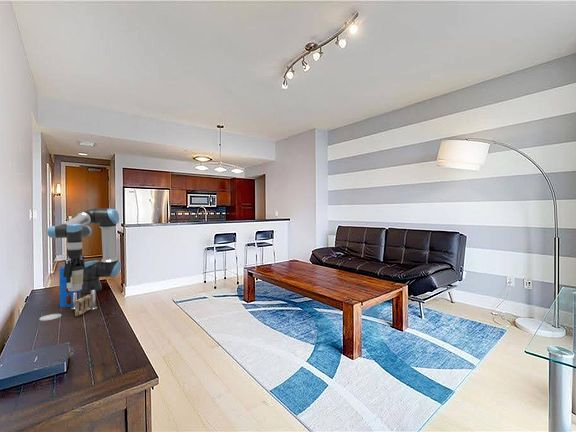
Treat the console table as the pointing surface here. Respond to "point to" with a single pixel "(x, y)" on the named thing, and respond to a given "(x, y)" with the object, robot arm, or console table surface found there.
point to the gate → (83, 304)
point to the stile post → (74, 300)
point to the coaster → (50, 317)
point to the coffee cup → (77, 278)
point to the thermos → (65, 291)
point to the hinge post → (93, 299)
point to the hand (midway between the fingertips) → (75, 285)
